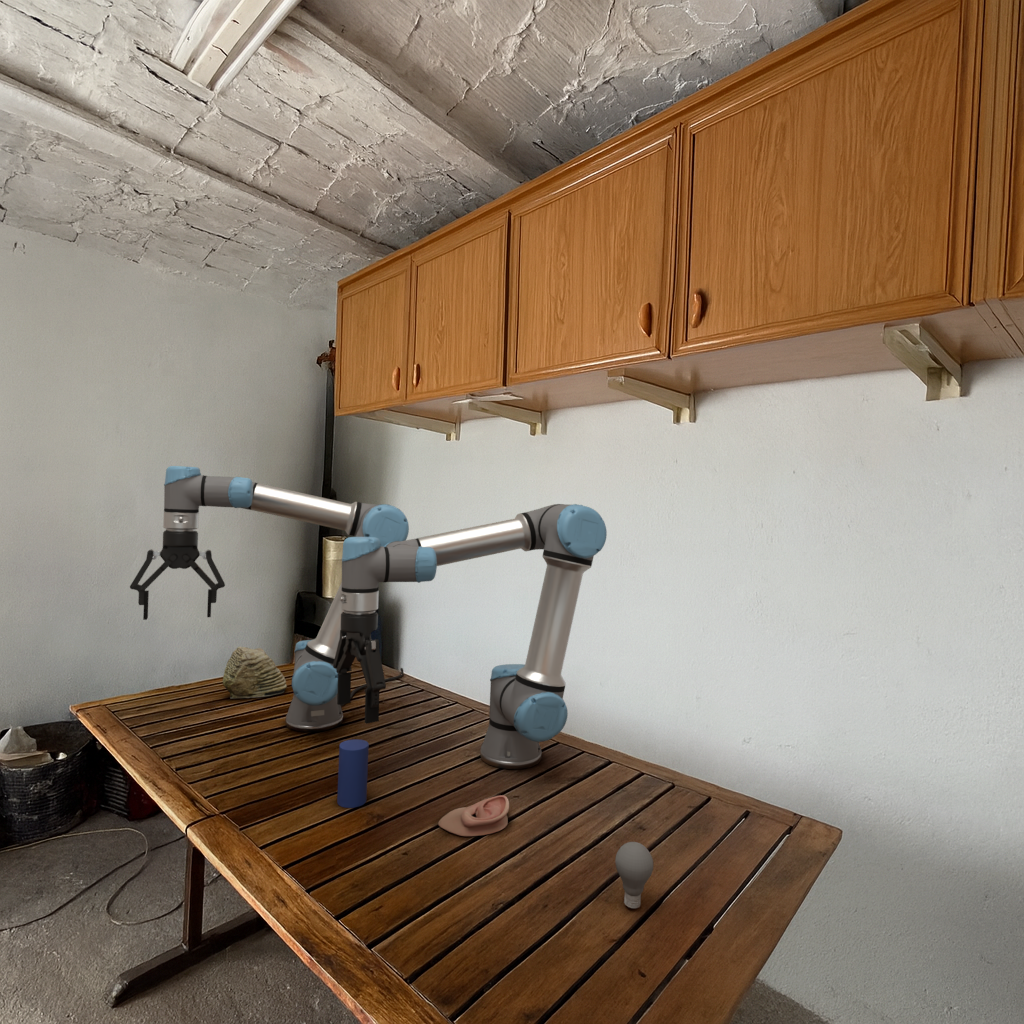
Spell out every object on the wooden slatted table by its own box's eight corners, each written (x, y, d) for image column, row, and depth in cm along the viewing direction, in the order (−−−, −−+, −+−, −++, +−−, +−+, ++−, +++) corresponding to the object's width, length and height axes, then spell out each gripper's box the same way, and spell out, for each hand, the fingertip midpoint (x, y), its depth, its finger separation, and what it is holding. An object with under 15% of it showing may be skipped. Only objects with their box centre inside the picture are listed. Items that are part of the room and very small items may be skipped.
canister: (363, 792, 136) (365, 737, 136) (369, 805, 131) (371, 748, 131) (334, 797, 134) (337, 741, 134) (340, 810, 129) (342, 751, 128)
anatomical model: (433, 811, 121) (451, 785, 132) (432, 831, 121) (450, 804, 133) (501, 821, 119) (513, 794, 130) (500, 842, 119) (512, 813, 130)
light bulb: (609, 894, 104) (612, 834, 104) (645, 894, 105) (647, 834, 105) (618, 918, 98) (621, 854, 98) (656, 918, 99) (659, 854, 99)
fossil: (218, 695, 195) (220, 647, 195) (278, 685, 208) (279, 640, 207) (228, 703, 189) (230, 653, 188) (289, 692, 201) (290, 645, 201)
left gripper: (118, 530, 144) (115, 622, 145) (237, 531, 155) (234, 618, 156) (122, 528, 151) (119, 616, 151) (236, 530, 162) (233, 612, 162)
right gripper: (319, 603, 139) (317, 699, 140) (369, 623, 120) (366, 734, 120) (351, 600, 144) (349, 693, 144) (404, 619, 124) (402, 726, 125)
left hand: (177, 617), depth 154 cm, fingers open, 13 cm apart
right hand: (357, 712), depth 132 cm, fingers open, 13 cm apart
